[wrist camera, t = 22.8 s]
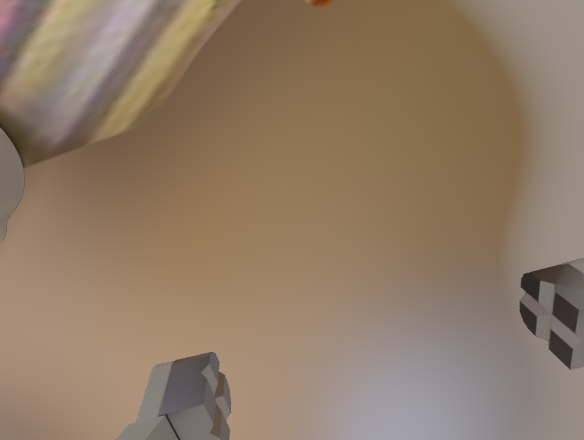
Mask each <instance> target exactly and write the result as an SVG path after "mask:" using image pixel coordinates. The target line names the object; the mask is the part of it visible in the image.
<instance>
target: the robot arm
mask: <svg viewBox="0 0 584 440" xmlns="http://www.w3.org/2000/svg"><path fill="white" fill-rule="evenodd" d="M24 181H25V180H24V170H23V166H22V162H21V159H20V157H19V154H18V152H17V150H16V148H15V147H14V145H13V143H12V142H11V140H10V139H9V137H8V136H7V135H6V133H5V132H4V131H3V130H2V129H1V128H0V243H1V242H2V241H3V240H4V238H5V236H6V229H7V221H8V218H9V217H10V215H11V214H12V213H13V211H14V210H15V209H16V207H17V206H18V204H19V202H20V200H21V198H22V195H23V191H24V183H25V182H24ZM521 288H522V289H523V290H524V291H525V292H526V293H525V294H524V296H523V297H522V298H521V300H520V313H521V316H522V319H523V322H524V323H525V325H526V326H527V328H528V329H529V330H530V331H531V332H532V333H533V334H534V335H535V336H536V337H539V338H542V339H544V340H546V341H548V344H549V350H550V351H551V352H552V353H553V354H554V355H555V356H556V357H557V358H558V359H560V360H561V361H562V362H563V363H564V364H565V365H566V366H567V367H568V368H569V369H570V370H572V369H576V368H581V367H584V258H581V259H577V260H573V261H570V262H566V263H563V264H560V265H556V266H552V267H548V268H544V269H540V270H536V271H533V272H529V273H525V274H524V275H523V277H522V278H521ZM230 413H231V398H230V390H229V386H228V382H227V379H226V377H225V375H224V374H222V373H221V372H219V361H218V358H217V356H216V354H215V353H214V352H209V353H205V354H201V355H196V356H192V357H187V358H183V359H179V360H175V361H172V362H167V363H162V364H158V365H156V366H155V367H154V368H153V369H152V371H151V374H150V378H149V381H148V384H147V387H146V390H145V393H144V397H143V400H142V403H141V406H140V410H139V413H138V416H137V419H136V422H135V423H133V424H129V425H128V426H127V428H126V429H125V430H124V431H123V432H122V433H121V434H120V435H119V436H118V438H117V439H116V440H229V436H230V429H229V427H228V424H227V422H226V419H227V418H228V416H229V415H230Z"/></svg>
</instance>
